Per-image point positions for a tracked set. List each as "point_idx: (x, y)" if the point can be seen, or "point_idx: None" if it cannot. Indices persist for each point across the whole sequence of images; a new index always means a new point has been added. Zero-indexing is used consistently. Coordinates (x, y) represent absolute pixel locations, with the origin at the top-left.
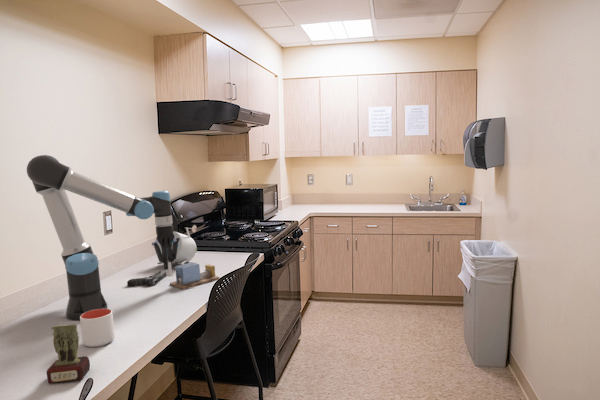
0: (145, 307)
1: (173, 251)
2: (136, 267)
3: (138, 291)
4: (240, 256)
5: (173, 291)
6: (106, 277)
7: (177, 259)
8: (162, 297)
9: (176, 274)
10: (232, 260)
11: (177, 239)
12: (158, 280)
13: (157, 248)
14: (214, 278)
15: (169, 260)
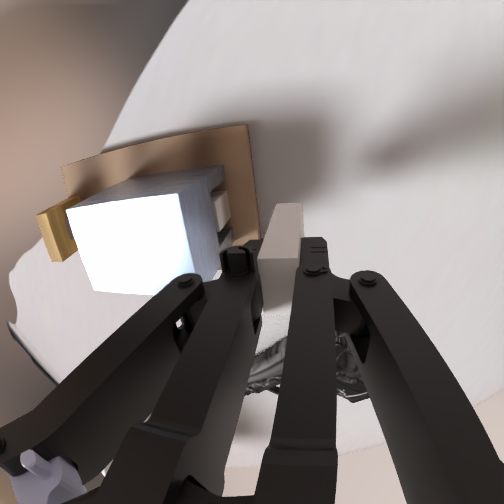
0: (498, 50)
1: (156, 362)
2: (251, 457)
3: (411, 293)
4: (22, 326)
5: (306, 139)
6: (348, 452)
7: (149, 417)
8: (399, 93)
9: (218, 258)
10: (32, 318)
11: (5, 455)
12: (279, 343)
13: (490, 449)
14: (78, 161)
15: (258, 293)
